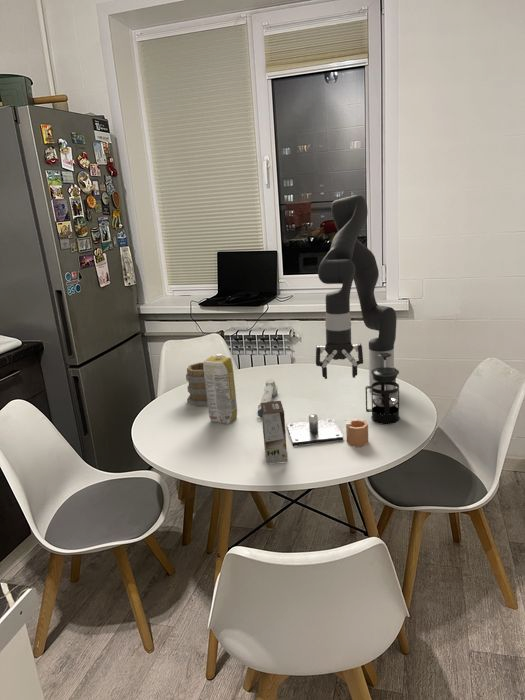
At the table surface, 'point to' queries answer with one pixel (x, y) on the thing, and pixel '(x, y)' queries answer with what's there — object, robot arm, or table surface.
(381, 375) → the french press
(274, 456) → the coffee box
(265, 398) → the toothbrush head
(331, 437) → the plate
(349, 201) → the robot arm
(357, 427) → the octagonal hollow tube
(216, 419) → the juice carton
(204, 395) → the tankard
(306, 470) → the table surface
